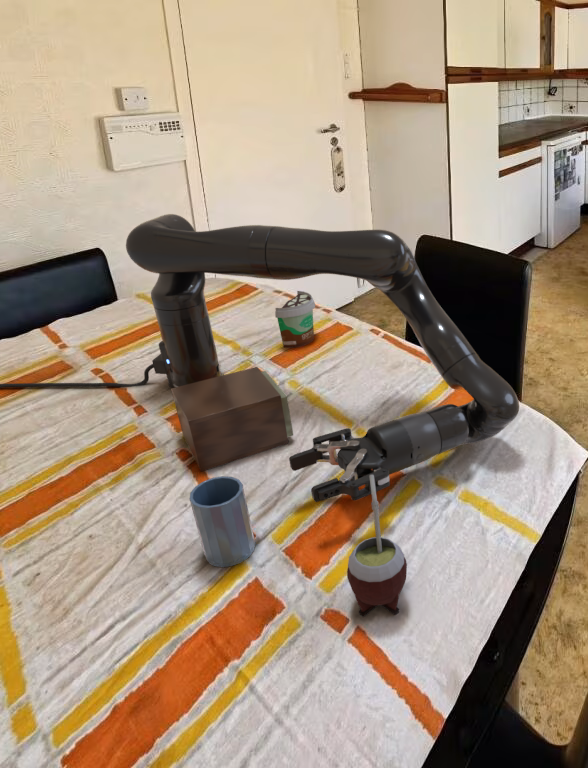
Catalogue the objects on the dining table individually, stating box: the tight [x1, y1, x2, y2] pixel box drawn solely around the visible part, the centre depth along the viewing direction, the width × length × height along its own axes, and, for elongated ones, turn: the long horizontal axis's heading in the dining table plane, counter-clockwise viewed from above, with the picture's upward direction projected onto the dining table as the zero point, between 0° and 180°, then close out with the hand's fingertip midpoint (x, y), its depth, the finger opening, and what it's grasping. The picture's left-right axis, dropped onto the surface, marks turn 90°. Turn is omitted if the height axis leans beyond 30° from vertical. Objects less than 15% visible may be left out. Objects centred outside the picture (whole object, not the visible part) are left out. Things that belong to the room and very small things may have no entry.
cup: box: [189, 475, 256, 568], centre depth 82 cm, size 6×6×10 cm
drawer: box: [261, 370, 294, 438], centre depth 107 cm, size 15×11×8 cm
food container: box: [274, 290, 316, 349], centre depth 143 cm, size 12×6×10 cm, turn 168°
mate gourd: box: [346, 475, 408, 618], centre depth 74 cm, size 8×8×15 cm
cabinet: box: [170, 366, 289, 472], centre depth 106 cm, size 15×13×10 cm
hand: (301, 479), depth 86 cm, fingers open, 8 cm apart
